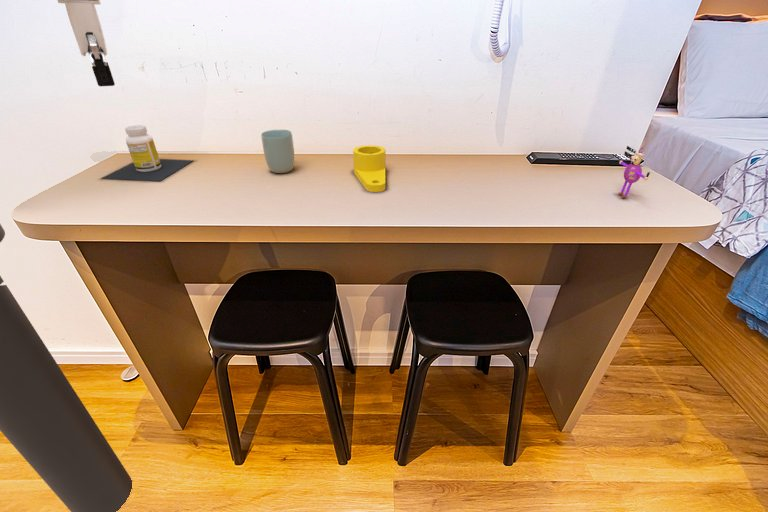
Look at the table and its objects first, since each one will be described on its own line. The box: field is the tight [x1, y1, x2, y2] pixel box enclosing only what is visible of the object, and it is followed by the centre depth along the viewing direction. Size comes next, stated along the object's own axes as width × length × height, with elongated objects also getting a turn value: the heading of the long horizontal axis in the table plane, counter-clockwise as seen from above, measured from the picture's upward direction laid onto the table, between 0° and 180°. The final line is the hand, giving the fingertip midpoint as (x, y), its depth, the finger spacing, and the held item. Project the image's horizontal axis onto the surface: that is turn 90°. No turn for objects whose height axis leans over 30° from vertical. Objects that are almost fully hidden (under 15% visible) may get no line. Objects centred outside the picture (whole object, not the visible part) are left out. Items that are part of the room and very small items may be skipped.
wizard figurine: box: [617, 145, 651, 199], centre depth 87 cm, size 11×3×12 cm, turn 0°
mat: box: [100, 158, 194, 182], centre depth 105 cm, size 16×16×1 cm
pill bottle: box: [124, 124, 161, 172], centre depth 102 cm, size 6×6×11 cm
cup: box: [260, 129, 296, 174], centre depth 101 cm, size 8×8×10 cm
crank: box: [352, 144, 386, 193], centre depth 98 cm, size 18×8×6 cm, turn 9°
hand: (106, 83), depth 91 cm, fingers open, 9 cm apart
